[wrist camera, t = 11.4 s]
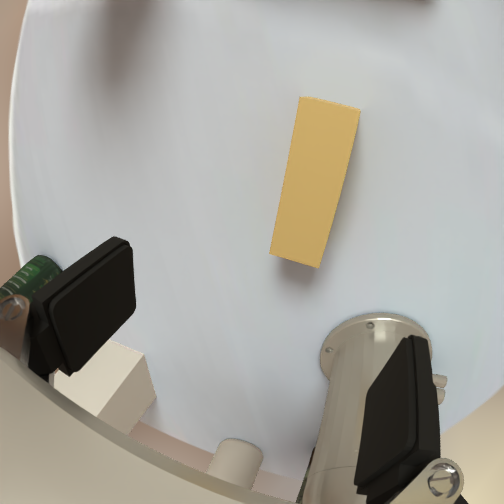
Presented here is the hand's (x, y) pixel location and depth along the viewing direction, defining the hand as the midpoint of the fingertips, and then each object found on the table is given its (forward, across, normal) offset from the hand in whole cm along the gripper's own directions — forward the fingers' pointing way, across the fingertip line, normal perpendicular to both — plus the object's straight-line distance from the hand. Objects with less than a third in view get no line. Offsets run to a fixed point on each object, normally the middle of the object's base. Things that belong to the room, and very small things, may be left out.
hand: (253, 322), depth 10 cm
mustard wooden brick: (+18, 0, 0) cm, 18 cm away
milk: (+19, +24, +39) cm, 49 cm away
